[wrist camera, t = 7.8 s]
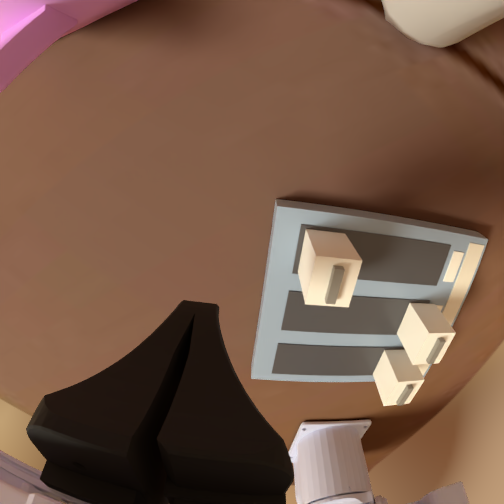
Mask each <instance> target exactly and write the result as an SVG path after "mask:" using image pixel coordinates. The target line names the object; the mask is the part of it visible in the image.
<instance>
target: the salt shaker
mask: <svg viewBox="0 0 504 504" xmlns="http://www.w3.org/2000/svg"><path fill="white" fill-rule="evenodd" d="M382 4H383V7H384V13H385V19H386V20H387V21H388V22H389V23H390V24H392V25H393V26H394V27H395V28H396V29H397V30H399V31H400V32H401V33H402V34H403V35H404V36H405V37H407V38H408V39H410V40H413V41H415V42H417V43H420V44H424V45H429V46H434V47H446V46H449V45H452V44H455V43H458V42H460V41H462V40H463V39H465V38H467V37H469V36H470V35H472V34H474V33H476V32H478V31H480V30H481V29H483V28H485V27H487V26H489V25H491V24H493V23H494V22H496V21H498V20H500V19H502V18H504V0H382Z"/></svg>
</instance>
